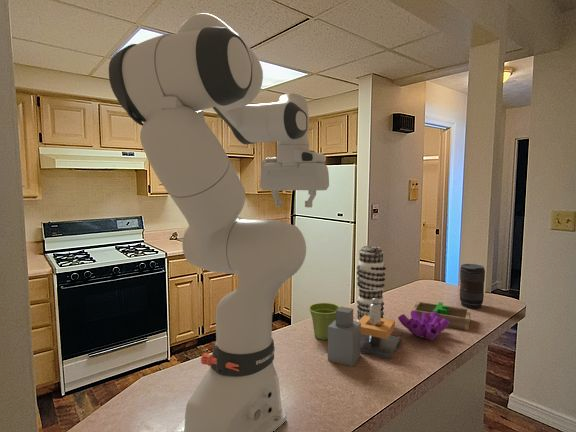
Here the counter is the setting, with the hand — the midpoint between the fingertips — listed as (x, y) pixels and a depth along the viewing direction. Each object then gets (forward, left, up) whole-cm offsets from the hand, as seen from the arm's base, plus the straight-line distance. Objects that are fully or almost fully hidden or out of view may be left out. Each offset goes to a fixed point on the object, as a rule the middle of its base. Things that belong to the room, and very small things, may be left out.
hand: (293, 206), depth 102 cm
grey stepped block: (-2, -16, -39) cm, 42 cm away
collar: (+9, -21, -35) cm, 41 cm away
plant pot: (+8, -6, -39) cm, 41 cm away
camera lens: (+58, -43, -39) cm, 82 cm away
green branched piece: (+38, -35, -39) cm, 65 cm away
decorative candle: (+25, -15, -39) cm, 49 cm away
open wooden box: (+38, -35, -39) cm, 65 cm away
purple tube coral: (+23, -32, -39) cm, 56 cm away
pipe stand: (+9, -21, -39) cm, 45 cm away
